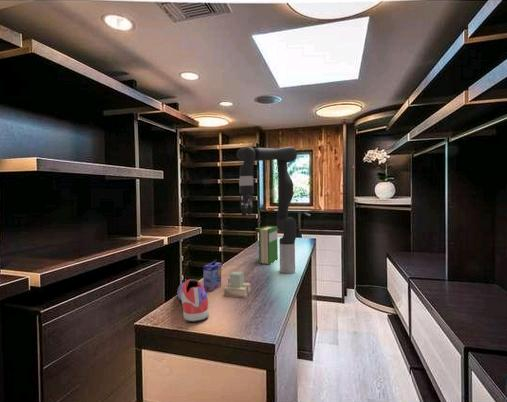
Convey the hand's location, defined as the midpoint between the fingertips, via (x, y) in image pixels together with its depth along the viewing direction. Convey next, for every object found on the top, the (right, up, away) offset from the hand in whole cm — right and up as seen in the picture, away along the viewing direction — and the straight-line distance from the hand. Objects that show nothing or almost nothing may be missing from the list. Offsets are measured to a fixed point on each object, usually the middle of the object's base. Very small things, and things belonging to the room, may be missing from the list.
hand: (246, 215), depth 155 cm
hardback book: (+14, -35, +47) cm, 60 cm away
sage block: (-4, -33, -16) cm, 37 cm away
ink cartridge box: (-17, -37, -8) cm, 41 cm away
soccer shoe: (-23, -38, -31) cm, 54 cm away
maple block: (-4, -37, -16) cm, 40 cm away
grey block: (-5, -37, -4) cm, 37 cm away
